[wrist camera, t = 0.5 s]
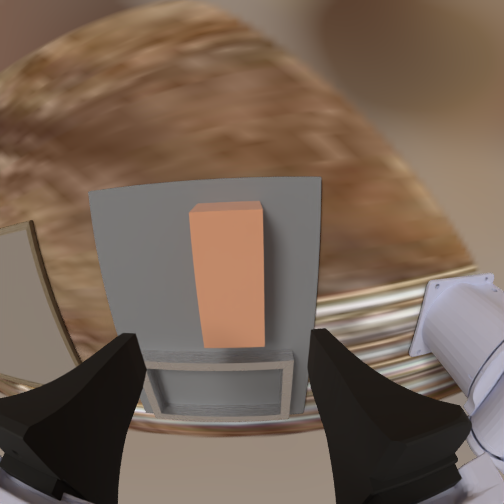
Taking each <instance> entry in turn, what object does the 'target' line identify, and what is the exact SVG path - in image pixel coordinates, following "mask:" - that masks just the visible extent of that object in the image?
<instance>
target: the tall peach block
mask: <svg viewBox="0 0 504 504" xmlns="http://www.w3.org/2000/svg"><path fill="white" fill-rule="evenodd" d="M189 221H190V233H191V244H192V254H193V264H194V273H195V282H196V290H197V298H198V306H199V314H200V321H201V329H202V336H203V342H204V348H244V347H265V320H264V245H263V208H262V206H261V203H260V201H241V202H217V203H198V204H197V205H196V206H195V207H194V208H193V209H192V210H191V211H190V212H189Z"/></svg>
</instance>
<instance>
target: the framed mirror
mask: <svg viewBox="0 0 504 504" xmlns="http://www.w3.org/2000/svg"><path fill="white" fill-rule="evenodd" d="M80 364H81V361H80V359H79V357H78V355H77V352H76V350H75V348H74V346H73V344H72V342H71V339H70V337H69V335H68V332H67V330H66V328H65V325H64V323H63V320H62V318H61V315H60V313H59V310H58V307H57V305H56V302H55V299H54V296H53V293H52V290H51V287H50V284H49V281H48V278H47V275H46V272H45V268H44V265H43V262H42V258H41V254H40V251H39V247H38V243H37V239H36V234H35V230H34V225H33V221H32V220H30V221H26V222H22V223H18V224H14V225H11V226H7V227H3V228H0V378H3V379H6V380H9V381H13V382H16V383H20V384H24V385H28V386H32V387H36V388H38V387H40V386H42V385H44V384H47V383H49V382H51V381H53V380H55V379H57V378H59V377H61V376H62V375H64V374H66V373H68V372H69V371H71V370H72V369H74V368H75V367H77V366H78V365H80Z"/></svg>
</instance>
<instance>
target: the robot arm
mask: <svg viewBox="0 0 504 504" xmlns="http://www.w3.org/2000/svg"><path fill="white" fill-rule="evenodd" d="M493 280H494V274H492V273H485V274H478V275H470V276H462V277H454V278H446V279H437V280H431V281H429V282H428V284H427V287H426V292H425V296H424V300H423V304H422V308H421V312H420V316H419V320H418V323H417V327H416V331H415V334H414V337H413V341H412V344H411V347H410V350H409V355H410V356H411V357H414V356H418V355H422V354H427V353H431V352H432V353H433V354H434V355H435V356H436V358H437V359H438V360H439V361H440V363H441V364H442V365H443V367H444V368H445V369H446V370H447V372H448V373H449V374H450V376H451V377H452V378H453V379H454V381H455V382H456V383H457V385H458V386H459V387H460V389H461V390H462V391H463V393H464V394H465V396H466V397H467V398H468V400H467V402H466V403H465V404H464V408H465V410H466V411H467V412H468V414H469V415H468V416H467V415H466V414H465V412H464V410H463V409H462V408H461V406H460V405H455V404H451V403H447V402H443V401H439V400H435V399H432V398H429V397H426V396H423V395H421V394H418V393H416V392H413V391H411V390H409V389H407V388H405V387H402V386H400V385H398V384H396V383H395V382H393V381H391V380H389V379H388V378H386V377H384V376H383V375H381V374H379V373H378V372H376V371H375V370H373V369H372V368H371V367H369V366H368V365H367V364H365V363H364V362H363V361H361V360H360V359H359V358H358V357H356V356H355V355H354V354H353V353H352V352H350V351H349V350H348V349H347V348H346V347H345V346H344V345H343V344H342V343H341V342H339V341H338V340H337V339H336V338H335V337H334V336H333V335H332V334H331V333H330V332H329V331H328V330H327V329H326V328H323V329H312V330H311V333H310V345H309V355H308V365H307V369H308V374H309V380H310V385H311V389H312V392H313V396H314V399H315V402H316V405H317V408H318V411H319V414H320V417H321V420H322V423H323V426H324V430H325V433H326V437H327V442H328V447H329V453H330V459H331V465H332V472H333V478H334V487H335V496H336V504H503V503H504V481H503V479H502V477H501V476H500V473H499V472H498V470H500V471H501V472H502V473H503V474H504V291H502V290H501V289H500V288H498V287H497V286H495V285H494V284H493ZM436 285H437V286H436ZM435 286H436V287H435ZM146 371H147V368H146V365H145V362H144V359H143V356H142V353H141V349H140V346H139V343H138V339H137V336H136V333H122V334H120V335H119V336H118V337H116V338H115V339H113V340H112V341H111V342H109V343H108V344H107V345H106V346H104V347H103V348H102V349H100V350H99V351H98V352H96V353H95V354H94V355H92V356H91V357H90V358H88V359H87V360H85V361H84V362H83V363H81V364H80V365H78V366H77V367H75V368H74V369H72V370H71V371H69V372H68V373H66V374H64V375H62V376H61V377H59V378H57V379H55V380H53V381H51V382H49V383H47V384H44V385H42V386H40V387H38V388H35V389H32V390H30V391H27V392H24V393H20V394H17V395H13V396H9V397H4V398H0V448H1V449H2V450H3V451H4V452H5V454H4V456H3V457H1V456H0V504H118V484H119V474H120V466H121V459H122V453H123V448H124V443H125V438H126V434H127V431H128V428H129V425H130V422H131V419H132V417H133V414H134V411H135V408H136V406H137V403H138V400H139V398H140V395H141V392H142V389H143V385H144V381H145V376H146ZM465 440H467V443H468V445H469V447H470V449H471V450H472V451H473V453H474V454H475V455H476V456H477V457H476V458H475V459H473V460H471V461H469V462H467V463H466V464H464V465H463V466H461V467H460V468H459V469H457V467H456V465H455V463H456V462H457V461H458V458H457V456H456V454H455V452H456V451H457V450H458V448H459V447H460V446H461V445H462V443H463V442H464V441H465ZM497 469H498V470H497Z"/></svg>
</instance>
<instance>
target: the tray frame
mask: <svg viewBox="0 0 504 504" xmlns="http://www.w3.org/2000/svg"><path fill="white" fill-rule="evenodd" d="M141 353H142V356H143V359H144V362H145V365H146V368H147V371H146V376H145V381H144V385H143V387H144V390H145V392H146V395H147V397H148V400H149V403H150V405H151V408H152V410H153V412H154V415H155V417H156V418H162V419H174V420H188V421H215V422H240V421H267V420H282V419H289V412H290V401H291V390H292V378H293V365H294V359H293V354H292V350H291V349H277V350H258V351H221V352H196V351H160V350H141ZM154 369H163V370H185V371H247V370H270V369H281V370H280V392H279V403H273V404H253V405H196V404H176V403H165V402H164V400H163V397H162V394H161V391H160V388H159V385H158V382H157V378H156V375H155V372H154Z"/></svg>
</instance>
